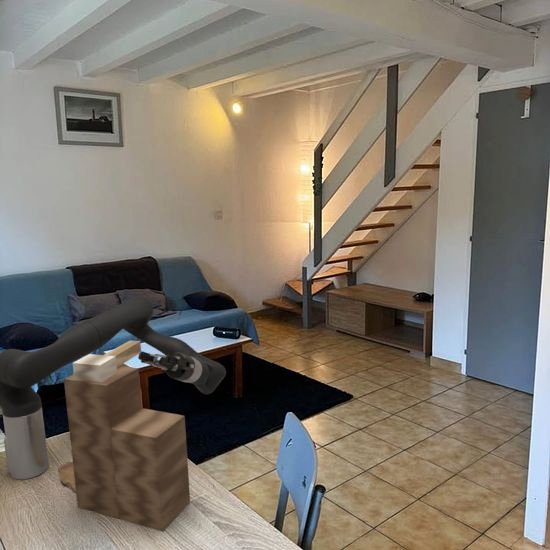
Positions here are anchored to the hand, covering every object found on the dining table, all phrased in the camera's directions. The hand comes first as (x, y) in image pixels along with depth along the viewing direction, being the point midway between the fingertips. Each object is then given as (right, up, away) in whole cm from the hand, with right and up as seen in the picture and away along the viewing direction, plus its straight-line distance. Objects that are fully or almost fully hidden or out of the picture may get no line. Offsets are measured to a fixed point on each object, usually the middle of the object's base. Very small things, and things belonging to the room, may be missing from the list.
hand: (153, 356), depth 137 cm
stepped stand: (-1, -33, -14) cm, 36 cm away
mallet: (-6, 0, -13) cm, 15 cm away
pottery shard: (-20, -31, -2) cm, 37 cm away
